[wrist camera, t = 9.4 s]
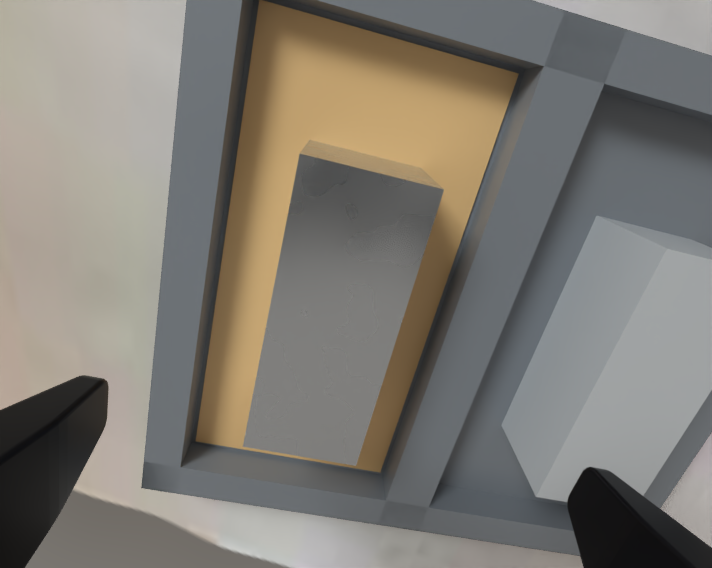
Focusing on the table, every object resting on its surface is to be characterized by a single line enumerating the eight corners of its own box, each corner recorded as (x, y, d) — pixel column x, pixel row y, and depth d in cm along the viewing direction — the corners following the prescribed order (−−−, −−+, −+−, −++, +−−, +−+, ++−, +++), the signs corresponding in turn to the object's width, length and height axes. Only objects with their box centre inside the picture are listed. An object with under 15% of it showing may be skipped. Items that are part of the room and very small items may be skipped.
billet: (420, 167, 16) (444, 189, 12) (353, 396, 20) (356, 466, 16) (309, 139, 16) (299, 153, 12) (261, 379, 19) (242, 446, 16)
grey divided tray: (842, 117, 17) (1030, 125, 12) (597, 518, 25) (655, 616, 20) (219, -71, 14) (161, -151, 10) (162, 446, 22) (114, 540, 17)
